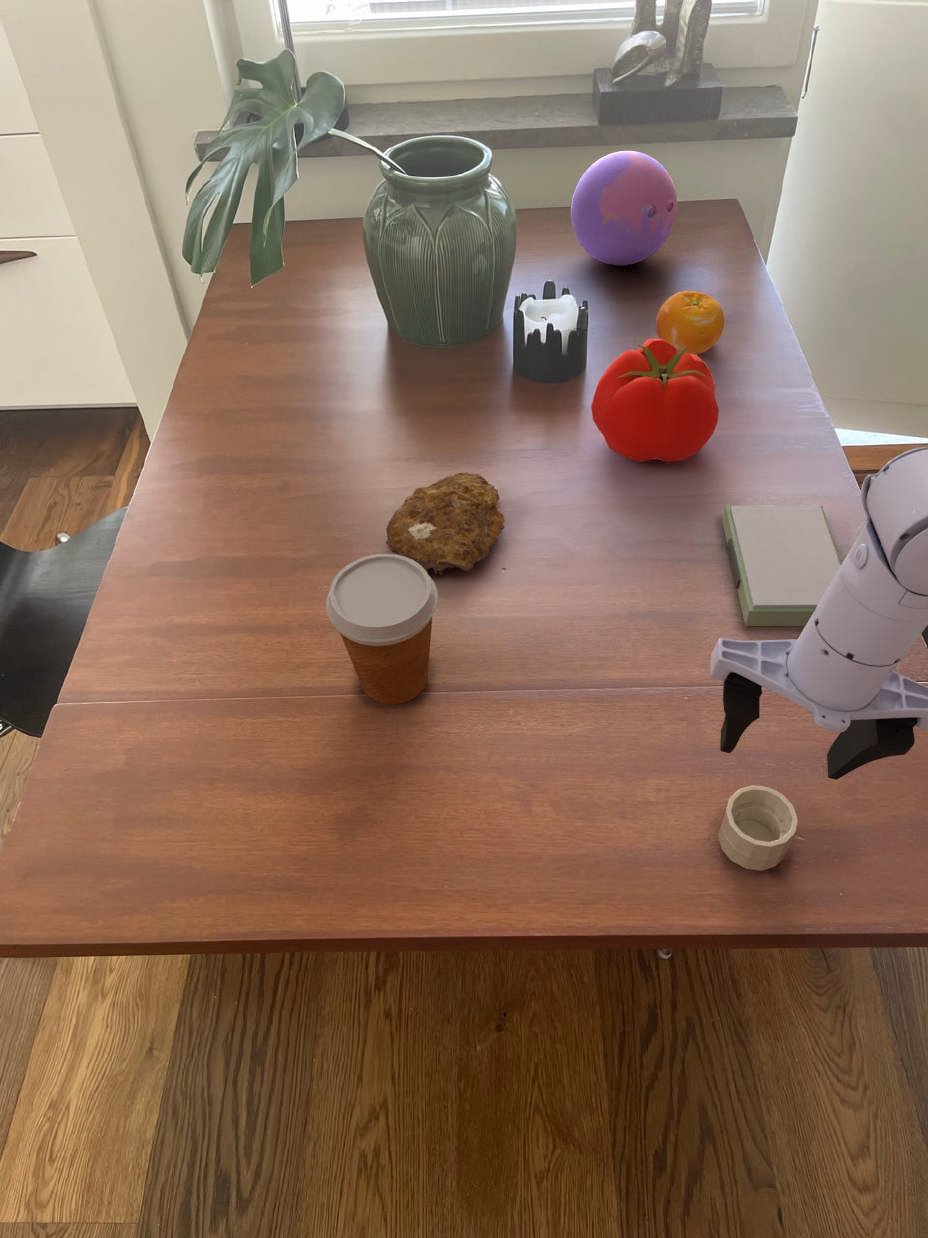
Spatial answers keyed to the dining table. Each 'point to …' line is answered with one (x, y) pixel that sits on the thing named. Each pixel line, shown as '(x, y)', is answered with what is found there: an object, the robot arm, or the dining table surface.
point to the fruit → (690, 322)
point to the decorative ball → (624, 208)
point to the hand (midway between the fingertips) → (778, 754)
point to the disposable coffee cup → (385, 623)
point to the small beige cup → (757, 827)
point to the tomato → (656, 403)
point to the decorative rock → (447, 523)
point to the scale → (780, 561)
